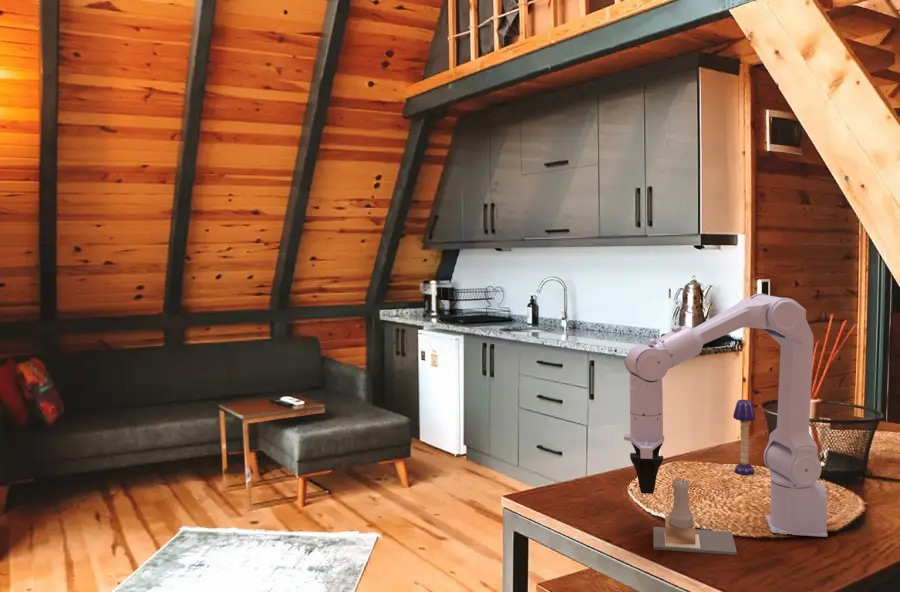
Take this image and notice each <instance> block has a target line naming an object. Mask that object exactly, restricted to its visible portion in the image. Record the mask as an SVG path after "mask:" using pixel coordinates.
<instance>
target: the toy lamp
mask: <svg viewBox="0 0 900 592" xmlns="http://www.w3.org/2000/svg"><path fill="white" fill-rule="evenodd" d="M734 408H735V409H734V410H733V411H734V412H733V416H732V417H733V419H734V420H737V421H739V422H740V428H739V429H740V431H741V432H740V446H739V447H740V448H739V449H740V454H739V455H740V459H739V460H740V461H739V463H738V464H737V465H736V466H735V468H734V473H736V474H738V475H742V476H752V475H754V474H755V469H754V467H753V466H752V465H751V464H749V454H750V453H749V449H750V447H749V442H750V440H749V438H750V437H749V436H750V433H749V430H750V427H749V423H750V421H751V422H752V421H755V419H756V414H755V410H754V407H753V403H752V401H751V400H749V399H739V400H737V401H736V404H735V407H734Z"/></svg>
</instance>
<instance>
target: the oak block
mask: <svg viewBox="0 0 900 592" xmlns="http://www.w3.org/2000/svg"><path fill="white" fill-rule="evenodd" d="M664 518H665V519H664V522H665V523H664V524H665V525H664V528H665V534H666V543H679V544H695V529H696V524H695V523H694V524H693V525H692V526H691V527H689V528H677V527H674V526H672V525H671V524H670V523H669V519H670V517H669V515H665V516H664ZM693 521H694V522H695V519H693Z"/></svg>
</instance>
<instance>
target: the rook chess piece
mask: <svg viewBox="0 0 900 592" xmlns="http://www.w3.org/2000/svg"><path fill="white" fill-rule="evenodd" d="M671 488H672V489H673V493H672V495H673V498H674V499H673V506H672V509H671V511H670V512H669V514H668V516H669V517H670V519H669V523H670V524H671V525H672V526H674V527H677V528H689V527H691V526H692V525H693V524H695V519H694V514H693V513H692V510H691V509H690V504H689V496H690V493H689V490H690V488H691V485H690V484H689V480H688V479H685V478H681V480H680V478H676V479H674V480H673V483H672V484H671ZM693 519H694V521H693Z"/></svg>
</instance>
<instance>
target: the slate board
mask: <svg viewBox="0 0 900 592" xmlns="http://www.w3.org/2000/svg"><path fill="white" fill-rule="evenodd" d="M652 532H653V536H652V537H653V542H652V543H653V550H657V551H660V550H661V551H672V552H684V553H685V552H686V553H687V552H688V553H701V554H702V553H703V554H716V555H729V556H731V555H733V556H738V552H737V547H736V543H735V540H734V535H733V532H732V531H728V530H727V531H722V530H710V529H709V530H708V529H696V528H695V544H679V543H666V534H665V526H663V527H662V526H661V527H660V526H653V531H652Z"/></svg>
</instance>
